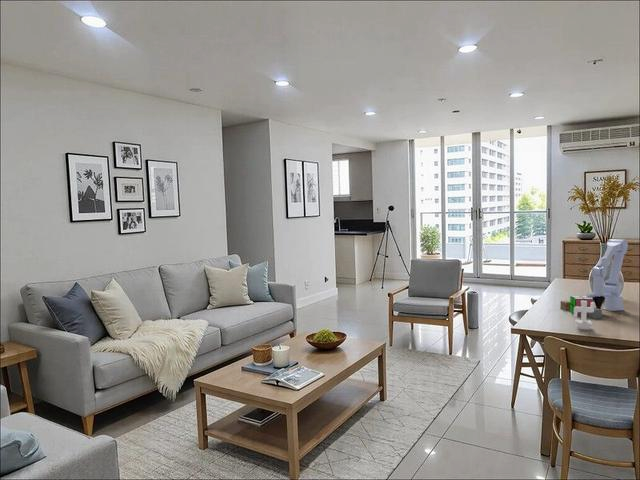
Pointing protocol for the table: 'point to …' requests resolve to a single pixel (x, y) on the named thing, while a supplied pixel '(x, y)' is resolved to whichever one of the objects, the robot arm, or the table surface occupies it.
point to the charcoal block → (595, 313)
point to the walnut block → (565, 305)
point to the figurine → (584, 315)
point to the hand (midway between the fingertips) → (598, 308)
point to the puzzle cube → (579, 302)
